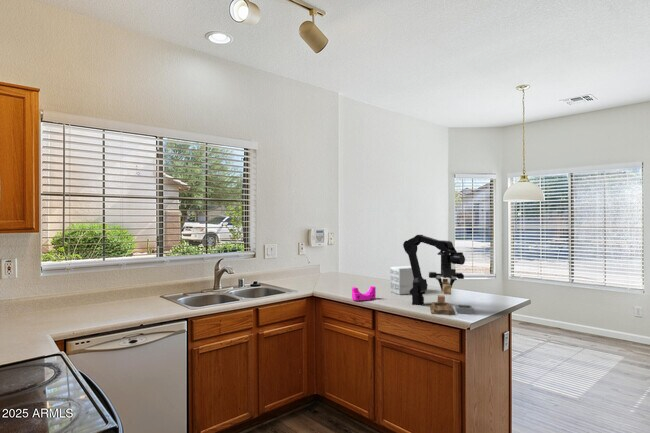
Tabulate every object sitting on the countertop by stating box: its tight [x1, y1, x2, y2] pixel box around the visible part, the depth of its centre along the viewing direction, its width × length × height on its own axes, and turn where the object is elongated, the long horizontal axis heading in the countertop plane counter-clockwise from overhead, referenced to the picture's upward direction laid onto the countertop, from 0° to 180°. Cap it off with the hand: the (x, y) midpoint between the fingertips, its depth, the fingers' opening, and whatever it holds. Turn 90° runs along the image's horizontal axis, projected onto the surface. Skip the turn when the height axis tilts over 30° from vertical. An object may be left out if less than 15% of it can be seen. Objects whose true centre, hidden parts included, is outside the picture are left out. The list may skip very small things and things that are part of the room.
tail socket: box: [454, 304, 474, 315], centre depth 216 cm, size 8×8×3 cm
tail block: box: [437, 294, 446, 303], centre depth 236 cm, size 4×4×5 cm
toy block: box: [351, 285, 377, 302], centre depth 253 cm, size 15×6×8 cm, turn 107°
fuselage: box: [441, 277, 452, 296], centre depth 222 cm, size 4×12×7 cm, turn 169°
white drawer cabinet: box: [389, 264, 414, 296], centre depth 275 cm, size 17×13×18 cm
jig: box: [429, 301, 455, 316], centre depth 220 cm, size 12×20×2 cm, turn 167°
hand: (445, 290), depth 222 cm, fingers closed on fuselage, 4 cm apart
